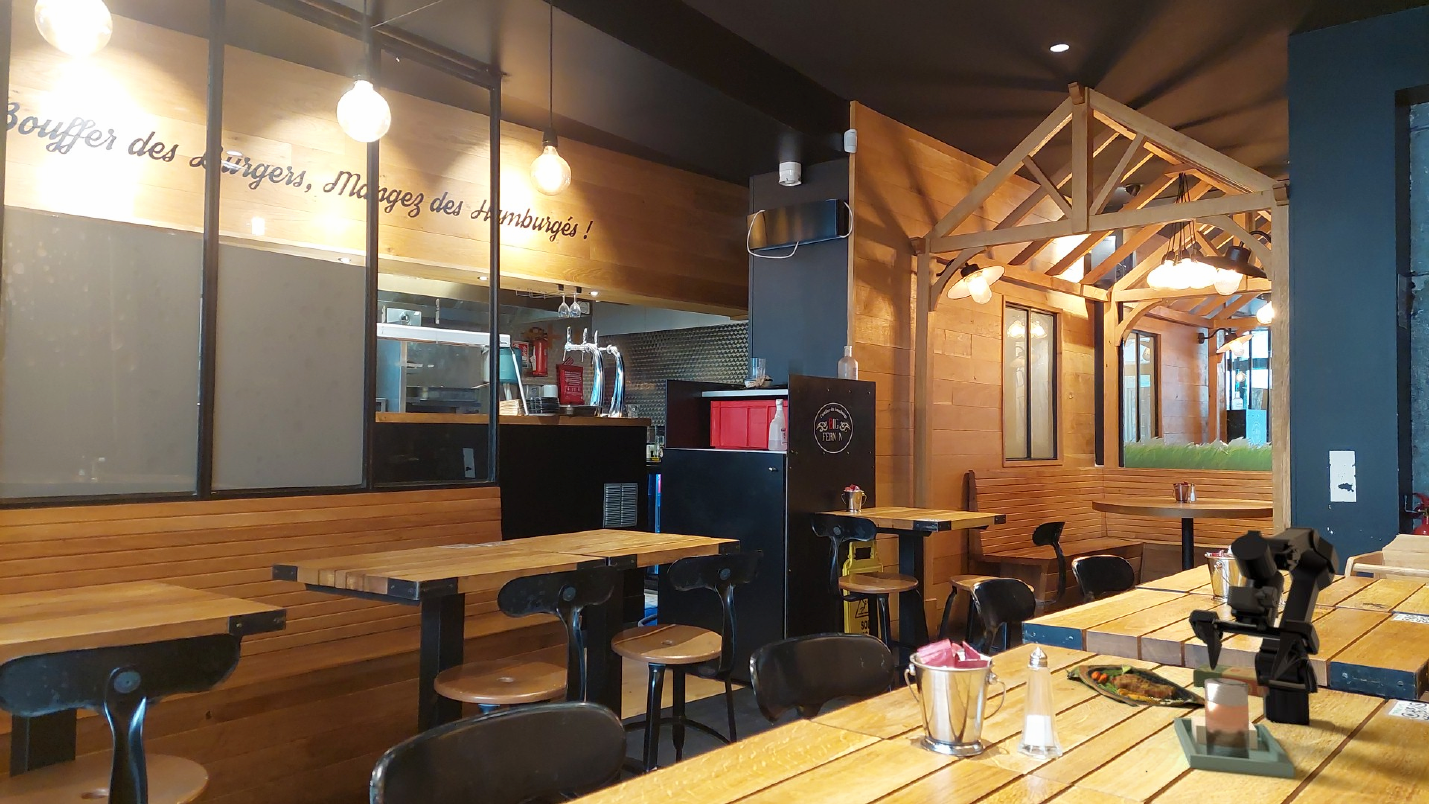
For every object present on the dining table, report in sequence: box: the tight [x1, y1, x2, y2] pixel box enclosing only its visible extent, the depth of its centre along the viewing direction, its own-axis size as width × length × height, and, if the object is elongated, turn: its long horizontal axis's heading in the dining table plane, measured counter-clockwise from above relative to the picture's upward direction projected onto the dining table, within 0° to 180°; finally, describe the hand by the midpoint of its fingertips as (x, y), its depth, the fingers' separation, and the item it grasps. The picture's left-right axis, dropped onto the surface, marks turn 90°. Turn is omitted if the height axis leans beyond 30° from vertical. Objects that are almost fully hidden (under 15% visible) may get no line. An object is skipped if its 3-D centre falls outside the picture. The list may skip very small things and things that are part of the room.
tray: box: [1173, 716, 1295, 779], centre depth 156 cm, size 14×22×2 cm, turn 160°
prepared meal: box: [1065, 663, 1205, 708], centre depth 197 cm, size 28×4×18 cm
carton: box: [1192, 662, 1266, 699], centre depth 197 cm, size 8×16×4 cm, turn 46°
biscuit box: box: [1190, 715, 1258, 749], centre depth 161 cm, size 9×6×3 cm, turn 70°
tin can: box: [1204, 678, 1250, 759], centre depth 152 cm, size 6×6×12 cm
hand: (1241, 673), depth 157 cm, fingers open, 9 cm apart
